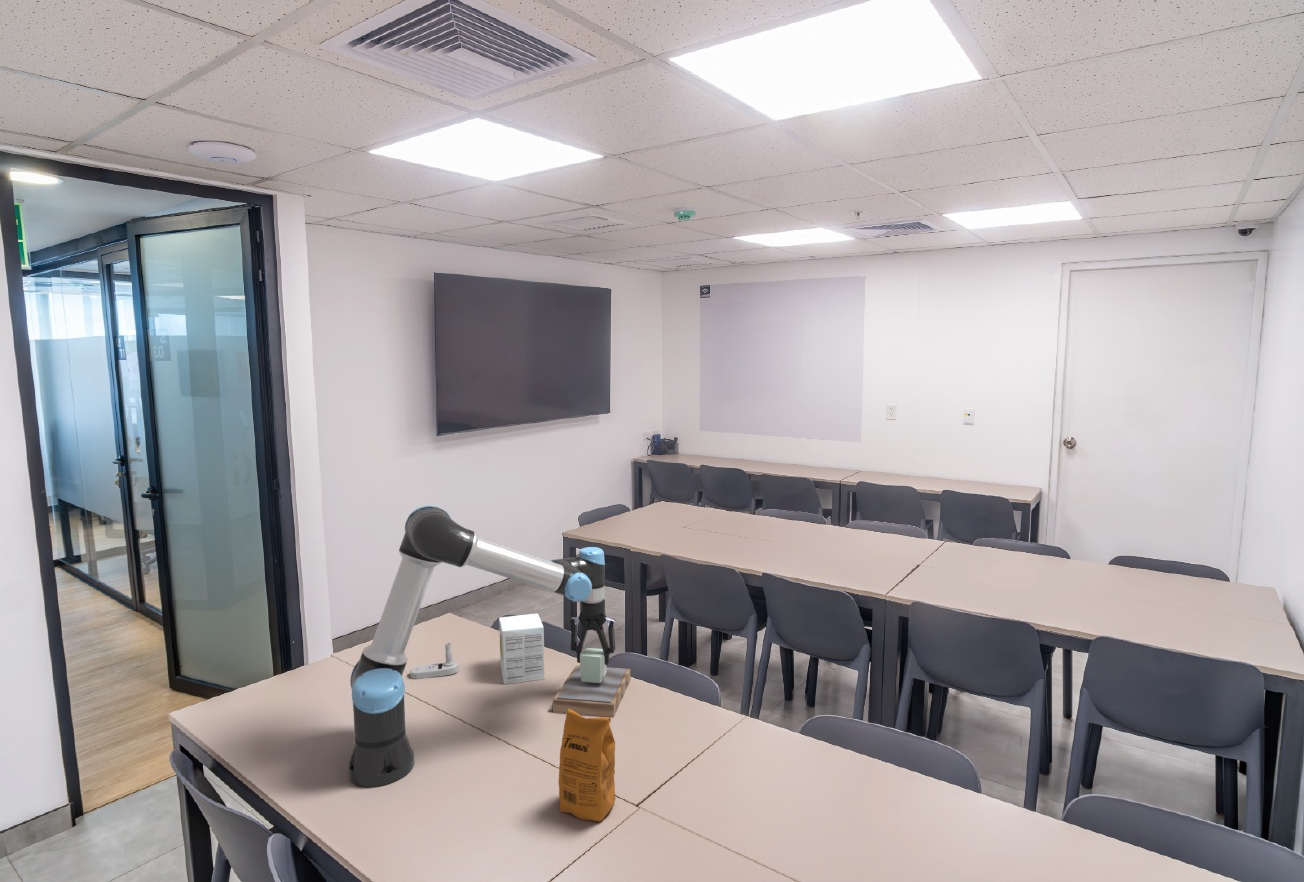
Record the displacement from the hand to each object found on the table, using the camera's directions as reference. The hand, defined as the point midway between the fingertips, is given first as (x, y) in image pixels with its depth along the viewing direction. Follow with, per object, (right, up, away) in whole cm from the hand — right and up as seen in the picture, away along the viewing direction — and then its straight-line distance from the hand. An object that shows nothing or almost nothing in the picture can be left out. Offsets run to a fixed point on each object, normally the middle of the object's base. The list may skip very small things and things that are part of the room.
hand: (593, 673), depth 205 cm
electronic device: (-53, -6, +16) cm, 56 cm away
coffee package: (+3, -12, -52) cm, 54 cm away
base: (0, -7, +1) cm, 7 cm away
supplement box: (-25, -6, +16) cm, 30 cm away
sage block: (0, -1, 0) cm, 1 cm away
